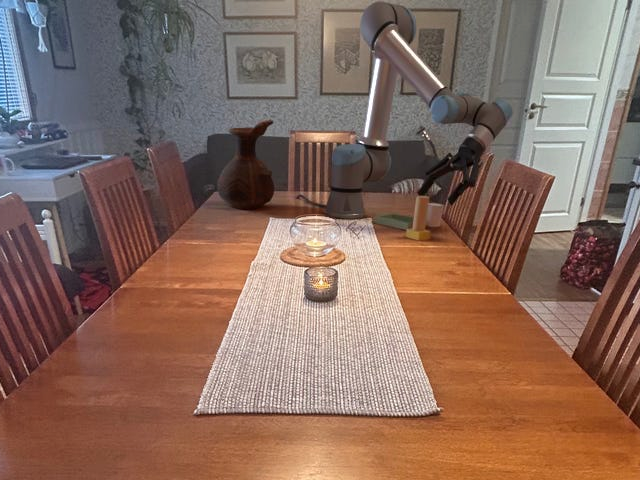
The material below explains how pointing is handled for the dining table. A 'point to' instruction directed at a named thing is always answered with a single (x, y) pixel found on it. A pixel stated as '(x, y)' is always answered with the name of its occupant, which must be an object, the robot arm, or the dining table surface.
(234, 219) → the dining table surface
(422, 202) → the wooden peg on base
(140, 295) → the dining table surface
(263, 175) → the jug
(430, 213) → the white cup
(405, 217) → the tray
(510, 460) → the dining table surface
